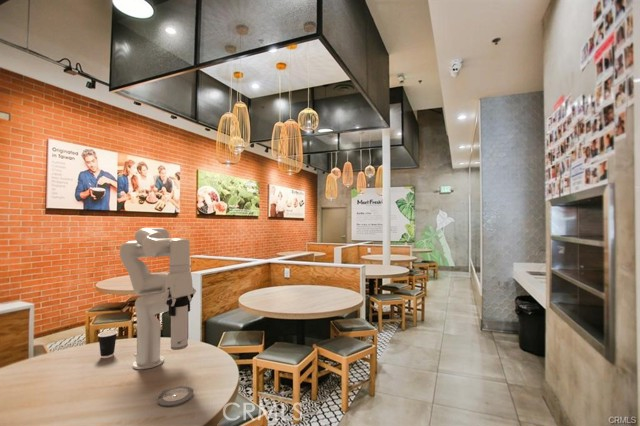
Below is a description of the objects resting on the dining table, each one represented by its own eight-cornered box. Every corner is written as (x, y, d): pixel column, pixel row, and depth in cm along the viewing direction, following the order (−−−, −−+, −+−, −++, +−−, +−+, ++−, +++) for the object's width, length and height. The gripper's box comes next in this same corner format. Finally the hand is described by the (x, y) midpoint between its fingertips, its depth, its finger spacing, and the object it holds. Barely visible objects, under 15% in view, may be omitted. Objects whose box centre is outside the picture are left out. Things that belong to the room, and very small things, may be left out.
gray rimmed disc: (150, 401, 112) (150, 398, 112) (178, 385, 122) (179, 383, 122) (172, 410, 106) (172, 407, 106) (200, 393, 117) (200, 390, 117)
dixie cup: (93, 360, 146) (94, 336, 147) (102, 353, 154) (102, 331, 155) (112, 358, 148) (112, 335, 148) (120, 352, 156) (120, 330, 156)
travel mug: (182, 350, 121) (182, 299, 122) (167, 349, 122) (167, 298, 123) (191, 344, 127) (191, 295, 128) (177, 343, 129) (177, 295, 130)
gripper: (190, 266, 136) (190, 307, 135) (154, 271, 120) (153, 318, 119) (202, 266, 132) (203, 309, 132) (167, 272, 117) (167, 320, 116)
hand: (179, 313), depth 126 cm, fingers closed on travel mug, 6 cm apart
